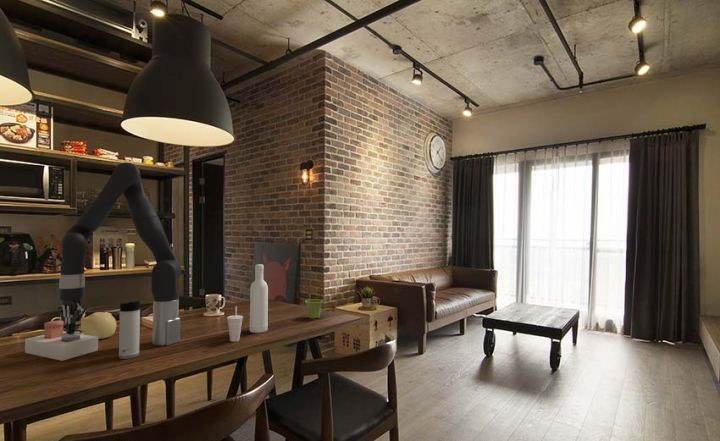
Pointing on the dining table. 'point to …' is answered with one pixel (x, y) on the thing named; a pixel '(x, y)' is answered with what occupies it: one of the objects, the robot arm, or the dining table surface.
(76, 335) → the grey cube
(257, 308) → the bottle
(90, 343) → the socket panel
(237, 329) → the smoothie
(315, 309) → the plant pot
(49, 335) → the pink gift box
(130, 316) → the travel mug
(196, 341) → the dining table surface
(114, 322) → the pale yellow round lump
